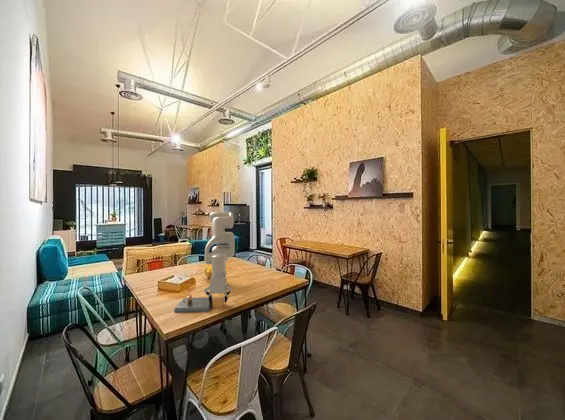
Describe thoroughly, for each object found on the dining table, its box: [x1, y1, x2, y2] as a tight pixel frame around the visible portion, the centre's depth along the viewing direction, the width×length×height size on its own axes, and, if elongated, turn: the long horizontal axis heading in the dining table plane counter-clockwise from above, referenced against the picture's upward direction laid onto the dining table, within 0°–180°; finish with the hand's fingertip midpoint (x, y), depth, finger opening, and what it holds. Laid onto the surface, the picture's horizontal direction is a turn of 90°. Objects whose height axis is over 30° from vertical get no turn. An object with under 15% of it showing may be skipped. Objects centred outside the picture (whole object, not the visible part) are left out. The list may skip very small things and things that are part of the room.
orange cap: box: [212, 295, 225, 309], centre depth 150 cm, size 6×6×5 cm
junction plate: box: [173, 294, 215, 313], centre depth 149 cm, size 16×20×6 cm
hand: (218, 302), depth 149 cm, fingers open, 8 cm apart
